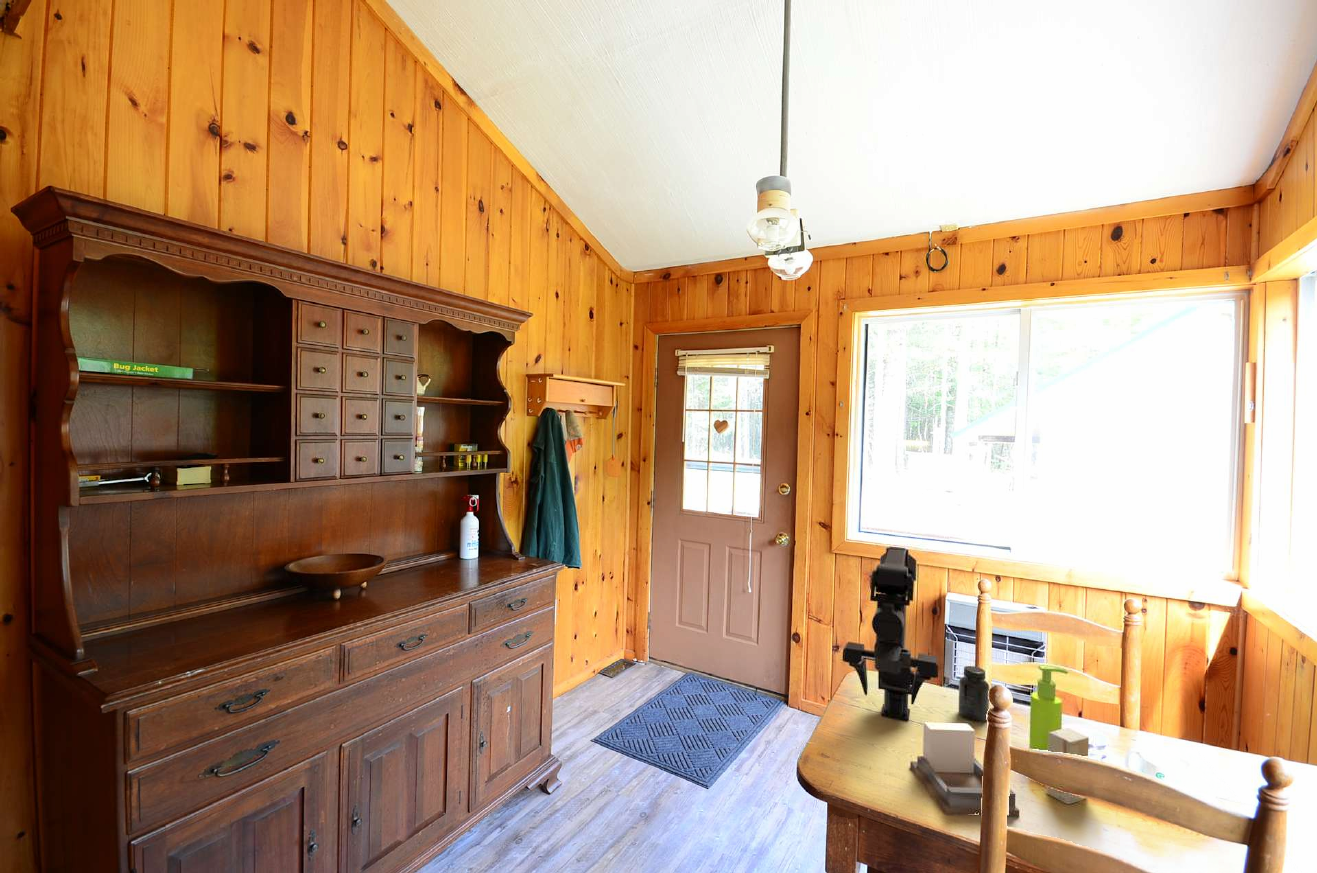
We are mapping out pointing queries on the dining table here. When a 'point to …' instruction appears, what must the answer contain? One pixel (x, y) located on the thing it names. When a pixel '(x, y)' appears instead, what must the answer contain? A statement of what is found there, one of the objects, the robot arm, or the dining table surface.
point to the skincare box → (1071, 744)
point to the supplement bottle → (973, 694)
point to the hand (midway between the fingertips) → (888, 699)
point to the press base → (954, 783)
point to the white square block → (949, 747)
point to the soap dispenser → (1045, 709)
